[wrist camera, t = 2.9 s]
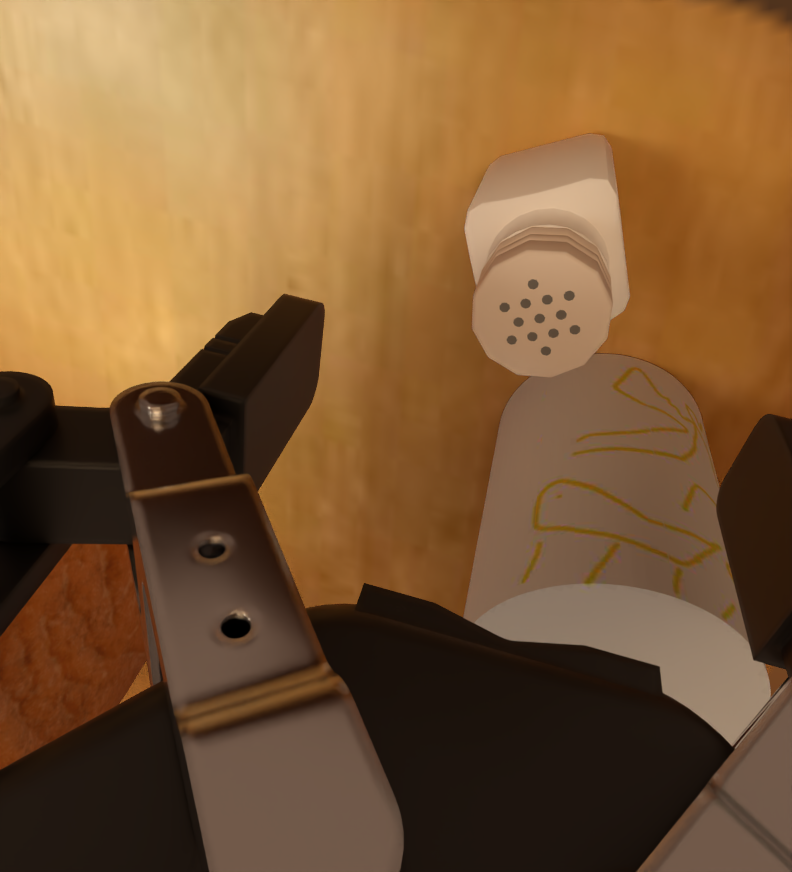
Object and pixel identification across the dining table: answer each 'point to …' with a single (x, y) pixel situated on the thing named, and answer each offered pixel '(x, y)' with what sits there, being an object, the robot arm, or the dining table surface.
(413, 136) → the dining table surface
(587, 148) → the salt shaker
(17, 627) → the bread
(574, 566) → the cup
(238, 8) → the dining table surface
